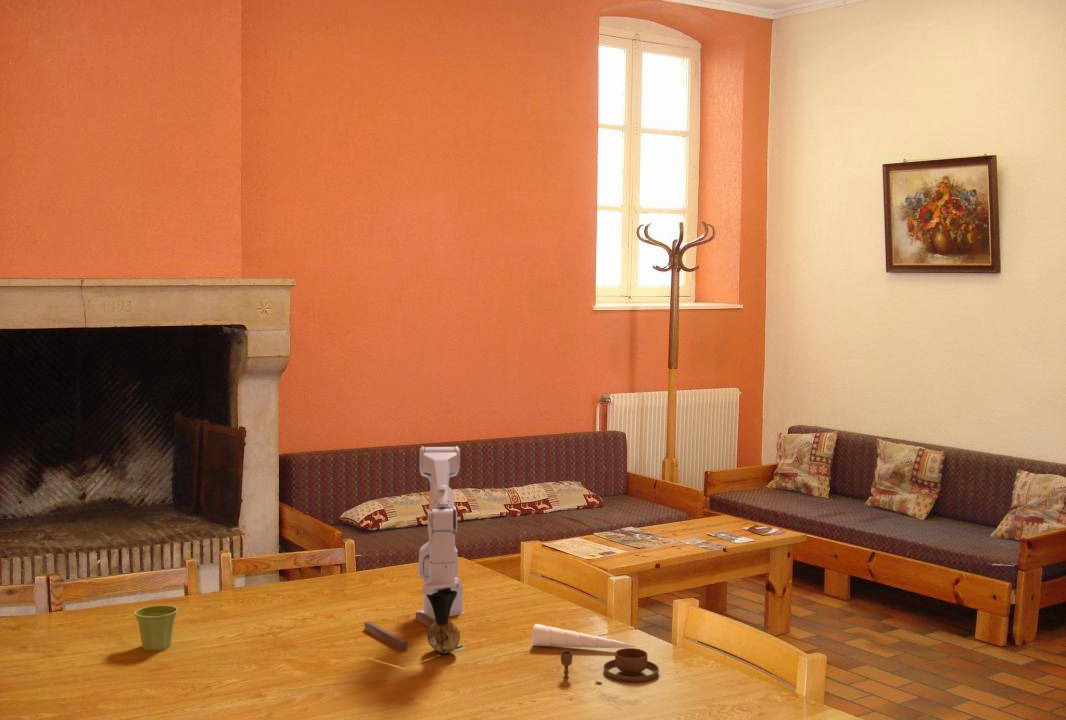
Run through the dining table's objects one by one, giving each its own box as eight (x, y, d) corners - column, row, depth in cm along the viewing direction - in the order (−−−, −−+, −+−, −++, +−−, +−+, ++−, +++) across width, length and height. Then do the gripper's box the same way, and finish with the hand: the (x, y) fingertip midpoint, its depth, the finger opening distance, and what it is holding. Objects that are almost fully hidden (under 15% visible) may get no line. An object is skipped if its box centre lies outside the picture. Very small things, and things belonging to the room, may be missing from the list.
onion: (423, 641, 250) (431, 668, 244) (422, 617, 246) (430, 644, 239) (455, 634, 252) (464, 661, 246) (455, 610, 248) (464, 637, 241)
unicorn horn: (633, 662, 250) (629, 668, 245) (533, 641, 256) (528, 646, 251) (636, 641, 249) (632, 647, 245) (536, 621, 255) (530, 626, 251)
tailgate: (409, 650, 248) (421, 657, 244) (455, 641, 255) (466, 648, 251) (409, 652, 248) (420, 659, 244) (455, 642, 255) (466, 649, 251)
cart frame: (419, 621, 271) (419, 611, 271) (459, 641, 256) (459, 630, 256) (364, 632, 262) (364, 622, 262) (402, 653, 247) (402, 642, 247)
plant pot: (125, 650, 247) (125, 612, 246) (157, 639, 255) (157, 602, 255) (155, 657, 243) (155, 618, 242) (187, 645, 251) (186, 608, 250)
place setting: (651, 692, 226) (651, 664, 225) (557, 682, 231) (557, 654, 231) (664, 665, 243) (665, 639, 242) (577, 656, 248) (577, 630, 248)
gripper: (441, 559, 254) (441, 618, 253) (410, 564, 241) (410, 627, 239) (468, 559, 251) (469, 620, 250) (439, 565, 238) (438, 629, 237)
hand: (442, 624), depth 244 cm, fingers closed, pressing on onion
